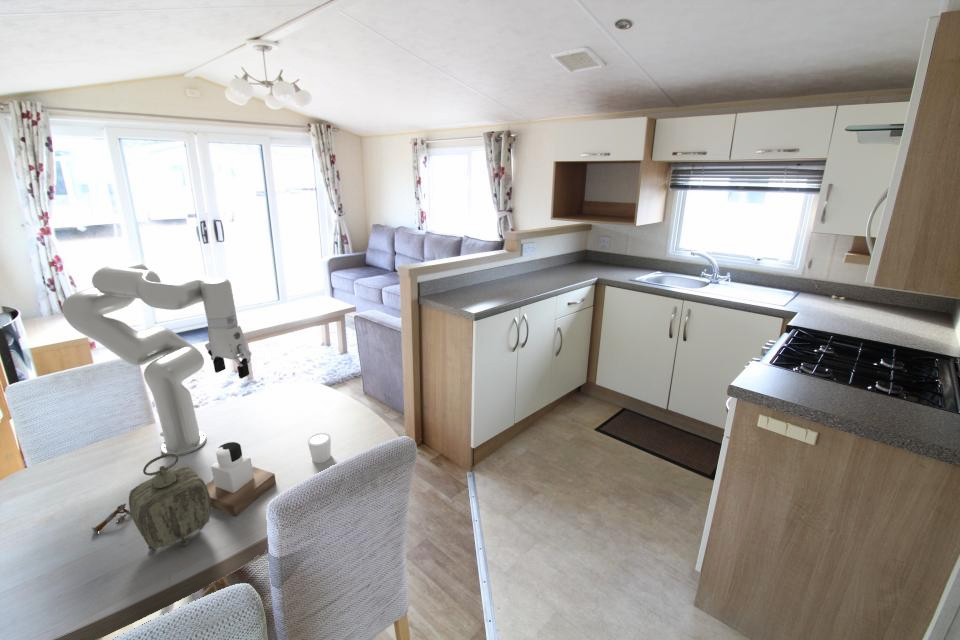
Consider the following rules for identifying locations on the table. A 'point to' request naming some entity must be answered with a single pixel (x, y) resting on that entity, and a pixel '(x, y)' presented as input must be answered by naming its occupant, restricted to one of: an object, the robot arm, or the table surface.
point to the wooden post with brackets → (112, 517)
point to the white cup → (320, 447)
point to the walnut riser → (241, 493)
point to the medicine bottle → (231, 468)
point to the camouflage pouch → (169, 505)
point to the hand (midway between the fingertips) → (232, 373)
